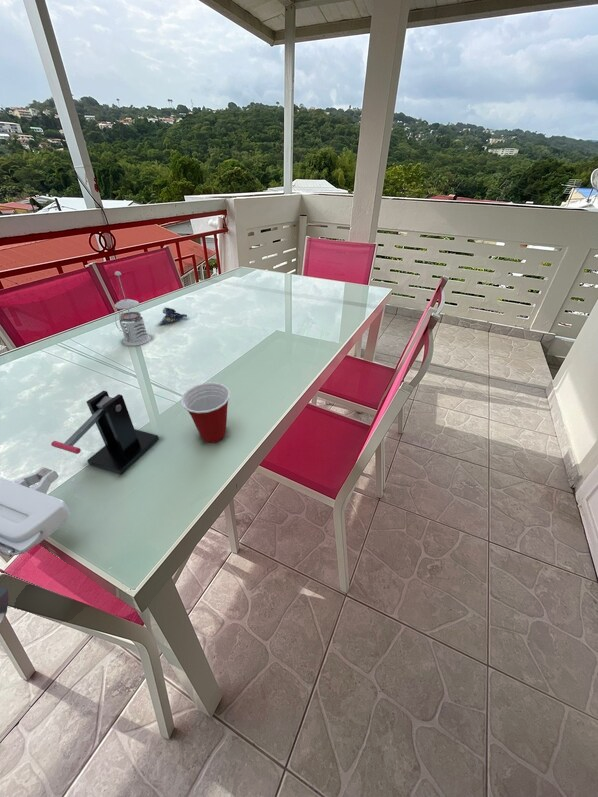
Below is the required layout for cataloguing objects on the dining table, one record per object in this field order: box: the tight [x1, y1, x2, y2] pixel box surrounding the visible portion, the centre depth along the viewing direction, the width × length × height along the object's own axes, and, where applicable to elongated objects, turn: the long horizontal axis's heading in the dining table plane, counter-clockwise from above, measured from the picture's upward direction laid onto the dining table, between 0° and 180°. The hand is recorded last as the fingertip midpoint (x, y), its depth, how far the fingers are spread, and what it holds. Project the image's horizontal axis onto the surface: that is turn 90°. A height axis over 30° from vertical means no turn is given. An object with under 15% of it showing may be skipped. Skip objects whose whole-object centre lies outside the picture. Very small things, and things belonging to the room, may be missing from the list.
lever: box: [50, 396, 113, 455], centre depth 65 cm, size 13×6×2 cm, turn 161°
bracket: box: [86, 390, 159, 475], centre depth 71 cm, size 12×9×15 cm
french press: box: [113, 270, 152, 347], centre depth 117 cm, size 10×12×25 cm
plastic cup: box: [180, 381, 231, 443], centre depth 77 cm, size 11×11×12 cm
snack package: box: [157, 307, 188, 326], centre depth 140 cm, size 12×6×12 cm
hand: (51, 471), depth 59 cm, fingers closed
